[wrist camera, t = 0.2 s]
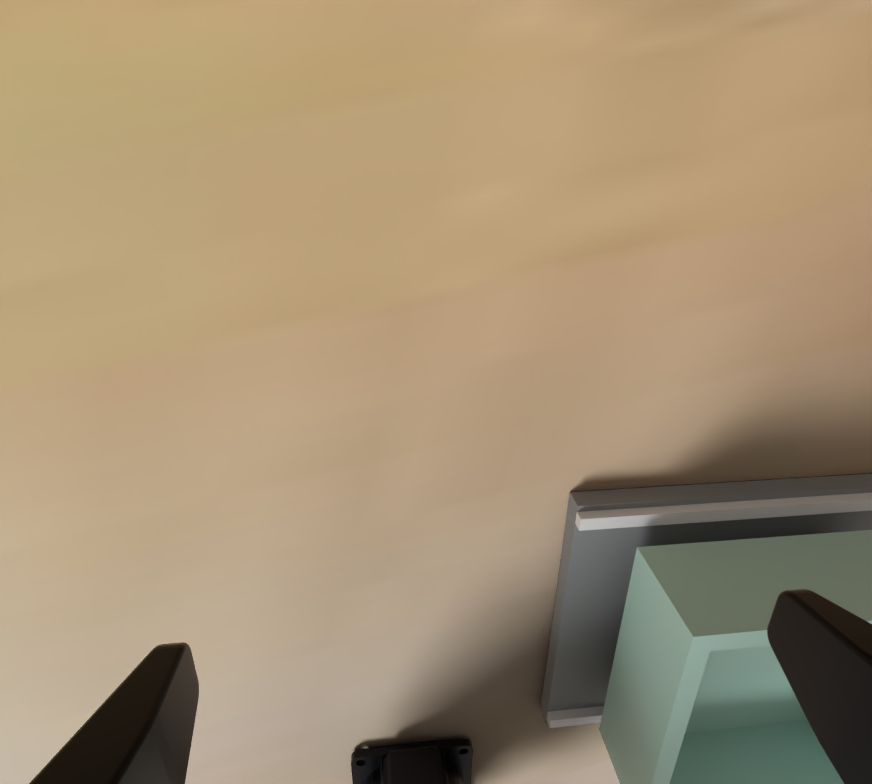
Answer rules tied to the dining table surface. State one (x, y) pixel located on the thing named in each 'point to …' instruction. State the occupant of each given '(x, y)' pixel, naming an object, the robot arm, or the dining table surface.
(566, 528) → the rail board
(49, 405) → the dining table surface
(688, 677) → the sage green storage bin
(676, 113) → the dining table surface
